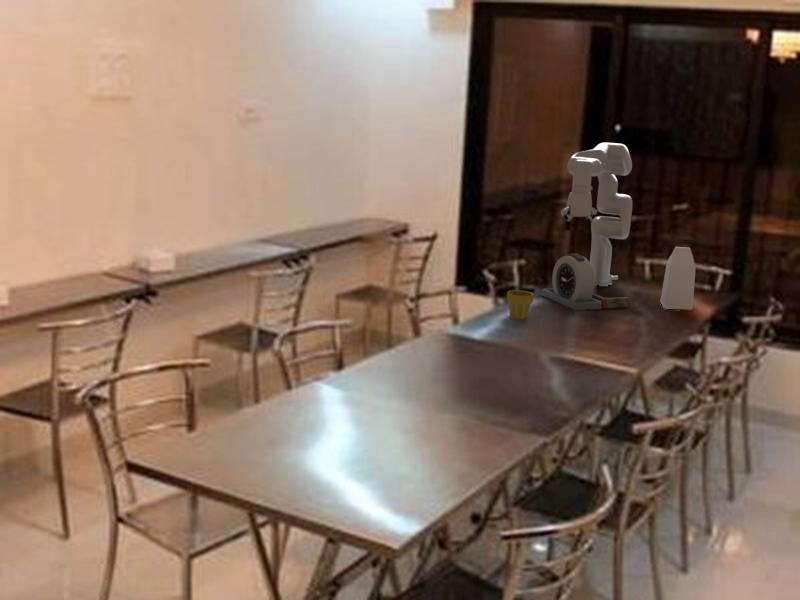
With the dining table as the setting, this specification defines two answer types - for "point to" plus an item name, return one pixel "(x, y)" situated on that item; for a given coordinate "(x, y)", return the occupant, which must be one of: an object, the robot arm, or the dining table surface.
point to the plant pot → (519, 303)
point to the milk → (679, 280)
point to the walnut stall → (610, 300)
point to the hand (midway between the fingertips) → (577, 230)
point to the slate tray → (576, 306)
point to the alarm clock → (573, 278)
